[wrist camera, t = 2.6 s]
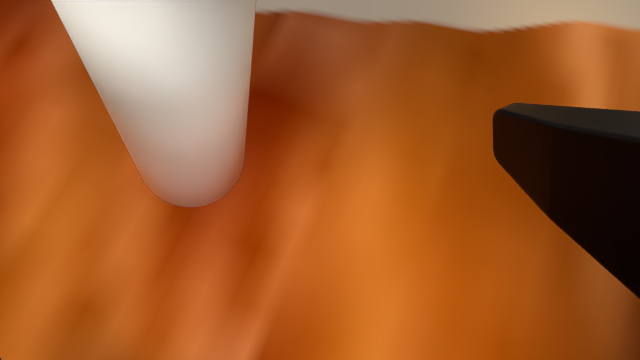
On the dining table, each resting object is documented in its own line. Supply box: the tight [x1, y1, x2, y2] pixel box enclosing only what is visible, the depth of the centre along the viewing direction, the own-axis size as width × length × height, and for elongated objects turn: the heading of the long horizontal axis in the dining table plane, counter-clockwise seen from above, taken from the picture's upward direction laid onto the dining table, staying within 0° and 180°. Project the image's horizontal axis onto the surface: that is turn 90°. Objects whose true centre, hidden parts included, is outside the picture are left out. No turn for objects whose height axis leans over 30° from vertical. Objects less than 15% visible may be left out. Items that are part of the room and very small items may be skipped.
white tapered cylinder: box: [51, 0, 256, 207], centre depth 15 cm, size 4×4×14 cm
